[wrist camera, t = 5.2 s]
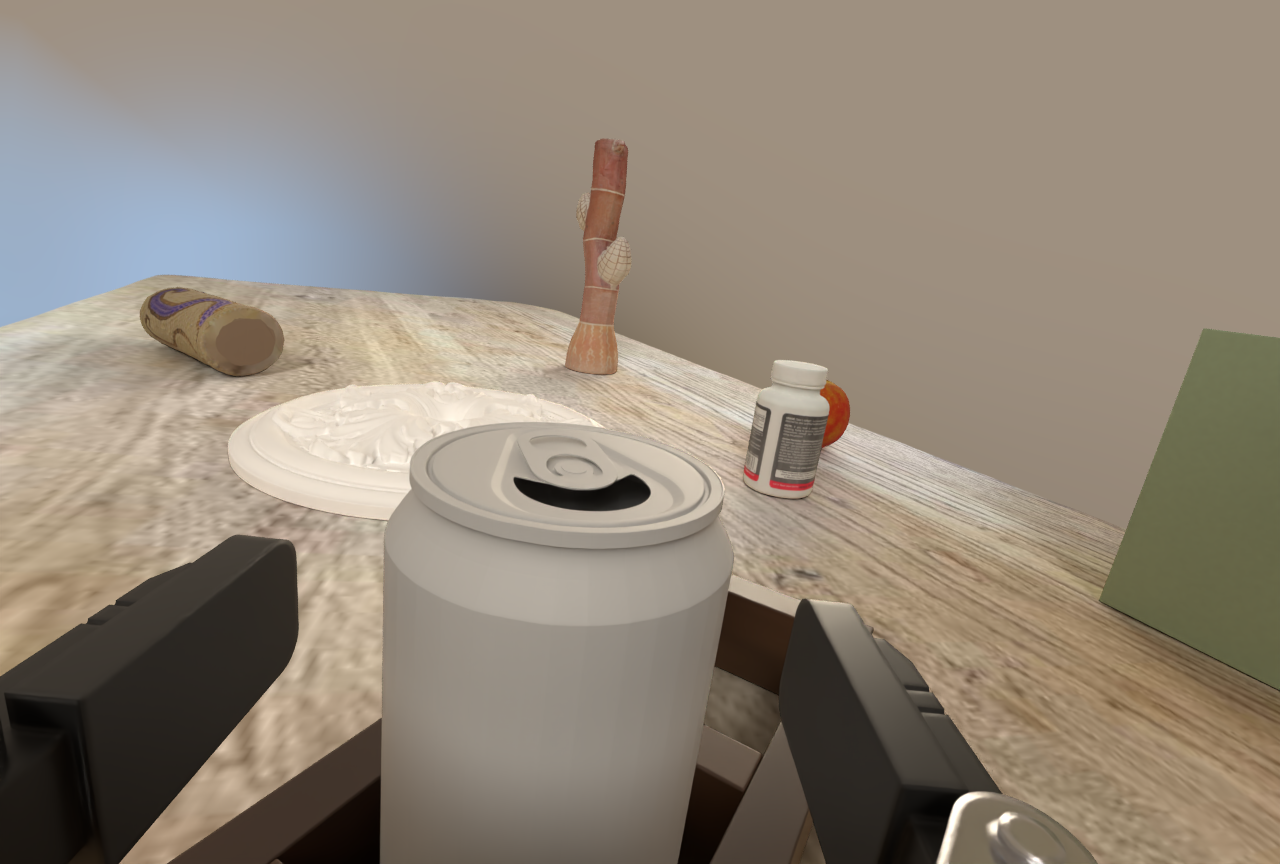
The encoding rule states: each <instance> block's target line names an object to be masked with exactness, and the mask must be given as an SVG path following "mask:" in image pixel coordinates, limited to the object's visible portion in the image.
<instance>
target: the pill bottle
mask: <svg viewBox="0 0 1280 864" xmlns="http://www.w3.org/2000/svg"><path fill="white" fill-rule="evenodd" d="M827 374H828V369H827V368H825V367H822V366H819V365H815V364H811V363H805V362H799V361H791V360H776V361H774V364H773V369H772V373H771V380H772V381H773V384H772V386H771V387H768V388H765V389H763V390H762V391H761V392H760V393H759V395H758V398H757V401H756V407H755V413H754V419H753V424H752V430H751V435H750V440H749V446H748V451H747V457H746V462H745V468H744V474H743V479H744V482H745V483H746V484H747V485H748V486H749V487H750V488H752V489H754V490H756V491H758V492H760V493H763V494H767V495H771V496H775V497H781V498H791V499H796V498H803V497H806V496H808V495H809V494H810V493H811V491H812V488H813V483H814V479H815V475H816V470H817V465H818V461H819V456H820V451H821V446H822V442H823V437H824V433H825V429H826V424H827V420H828V416H829V403H828V401H827V400H826V399H825V398H824V397H822V396H821V395H820V390H821V389H823V388H824V385H826V378H827Z"/></svg>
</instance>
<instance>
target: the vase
mask: <svg viewBox="0 0 1280 864" xmlns="http://www.w3.org/2000/svg"><path fill="white" fill-rule="evenodd" d="M627 157H628V148H627V146H626V145H625V142H624V141H623V140H617V139H600V140H598V141H597V142H596V143H595V152H594V160H593V181H592V187H591V194H590V193H588V192H587V193H584V194H583V195H582V196H581V198H580V200H579V203H578V207H577V214H576V218H577V220H578V222H579V226H580V228H581V229H582V230H583V231H584V237H583V245H584V257H585V271H586V272H585V276H586V277H585V287H584V294H583V304H582V310H581V316H580V321H579V324H578V326H577V328H576V331H575V333H574V335H573V337H572V339H571V342H570V344H569V347H568V352H567V357H566V363H565V367H567V368H569V369H571V370H574V371H578V372H583V373H589V374H603V375H604V374H614V373H615V372H616V371H617V363H618V351H617V343H616V338H615V332H614V327H613V325H614V315H615V309H616V304H617V297H618V291H619V283H620V282H621V281H622V280H623V279H624V278H625V277H626V276H627V275H628V274H629V271H630V268H631V252H630V247H629V244H628V241H627V240H626V239H625V238H623V237H619V238H617V239H616V235H617V231H618V225H619V218H620V213H621V209H622V205H623V201H624V196H625V188H626V174H627Z"/></svg>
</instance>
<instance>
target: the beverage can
mask: <svg viewBox="0 0 1280 864" xmlns="http://www.w3.org/2000/svg"><path fill="white" fill-rule="evenodd" d="M409 482H410V485H411V488H412V489H411V490H410V491H409V492H408V493H407V495H406V496H405V497H404V498H403V500H402V501H401V502H400V504H399V505H398V506H397V508H396V509H395V511H394V512H393V513H392V515H391V517H390V519H389V520H388V522H387V526H386V529H385V535H384V586H383V663H382V741H381V818H380V864H677V863H678V858H679V852H680V847H681V842H682V836H683V831H684V826H685V820H686V815H687V810H688V804H689V799H690V794H691V788H692V783H693V777H694V772H695V767H696V761H697V756H698V751H699V745H700V740H701V735H702V729H703V724H704V719H705V713H706V708H707V703H708V697H709V692H710V686H711V681H712V676H713V670H714V665H715V660H716V654H717V649H718V644H719V638H720V633H721V628H722V622H723V617H724V611H725V606H726V601H727V595H728V590H729V585H730V579H731V574H732V569H733V563H734V552H733V548H732V544H731V541H730V539H729V536H728V534H727V531H726V529H725V527H724V525H723V523H722V521H721V520H720V518H719V516H718V515H719V514H720V512H721V509H722V505H723V499H724V493H725V487H724V484H723V481H722V479H721V478H720V476H719V475H718V474H717V472H716V471H715V470H714V469H712V468H711V467H710V466H709V465H708V464H706V463H705V462H703V461H702V460H700V459H699V458H697V457H695V456H693V455H692V454H690V453H688V452H686V451H683V450H681V449H679V448H676V447H674V446H671V445H669V444H666V443H663V442H660V441H657V440H654V439H651V438H647V437H644V436H640V435H636V434H632V433H627V432H623V431H618V430H613V429H607V428H601V427H594V426H586V425H578V424H567V423H551V422H512V423H497V424H488V425H481V426H474V427H469V428H464V429H460V430H456V431H452V432H449V433H446V434H443V435H440V436H438V437H435V438H433V439H431V440H429V441H428V442H426V443H424V444H423V445H422V446H420V447H419V448H418V449H417V450H416V451H415V452H414V454H413V456H412V457H411V461H410V474H409Z"/></svg>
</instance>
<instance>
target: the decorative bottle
mask: <svg viewBox="0 0 1280 864" xmlns="http://www.w3.org/2000/svg"><path fill="white" fill-rule="evenodd" d="M140 320H141V324H142V326H143V328H144V329H145V331H146V332H147V333H148V334H149V335H150V336H151V337H153V338H154V339H156V340H158V341H159V342H161V343H162V344H165V345H168V346H169V347H171V348H174V349H175V350H178V351H181V352H183V353H185V354H187V355H189V356H192V357H193V358H195V359H197V360H198V361H201V362H203V363H204V364H207V365H210V366H211V367H212V368H214V369H216V370H218V371H220V372H223V373H225V374H227V375H233V376H239V377H240V376H247V375H252V374H255V373H259V372H262V371H264V370H265V369H267V368H268V367H269V366H271V365H272V364H273V363H275V362H276V361H277V360H278V358H279V357H280V355H281V353H282V350H283V345H284V335H283V331H282V329H281V327H280V325H279V323H278V322H277V321H276V319H275V318H274V317H273V316H272V315H270V314H269V313H267V312H265V311H263V310H260V309H258V308H255V307H250V306H245V305H242V304H238V303H236V302H233V301H230V300H227V299H224V298H220V297H217V296H214V295H209V294H206V293H204V292H199V291H196V290H193V289H189V288H182V287H176V288H167V289H163V290H160V291H158V292H156V293H154V294H152V295H150V296H149V297H147V298H146V300H145V301H144V303H143V305H142V307H141V310H140Z"/></svg>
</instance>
